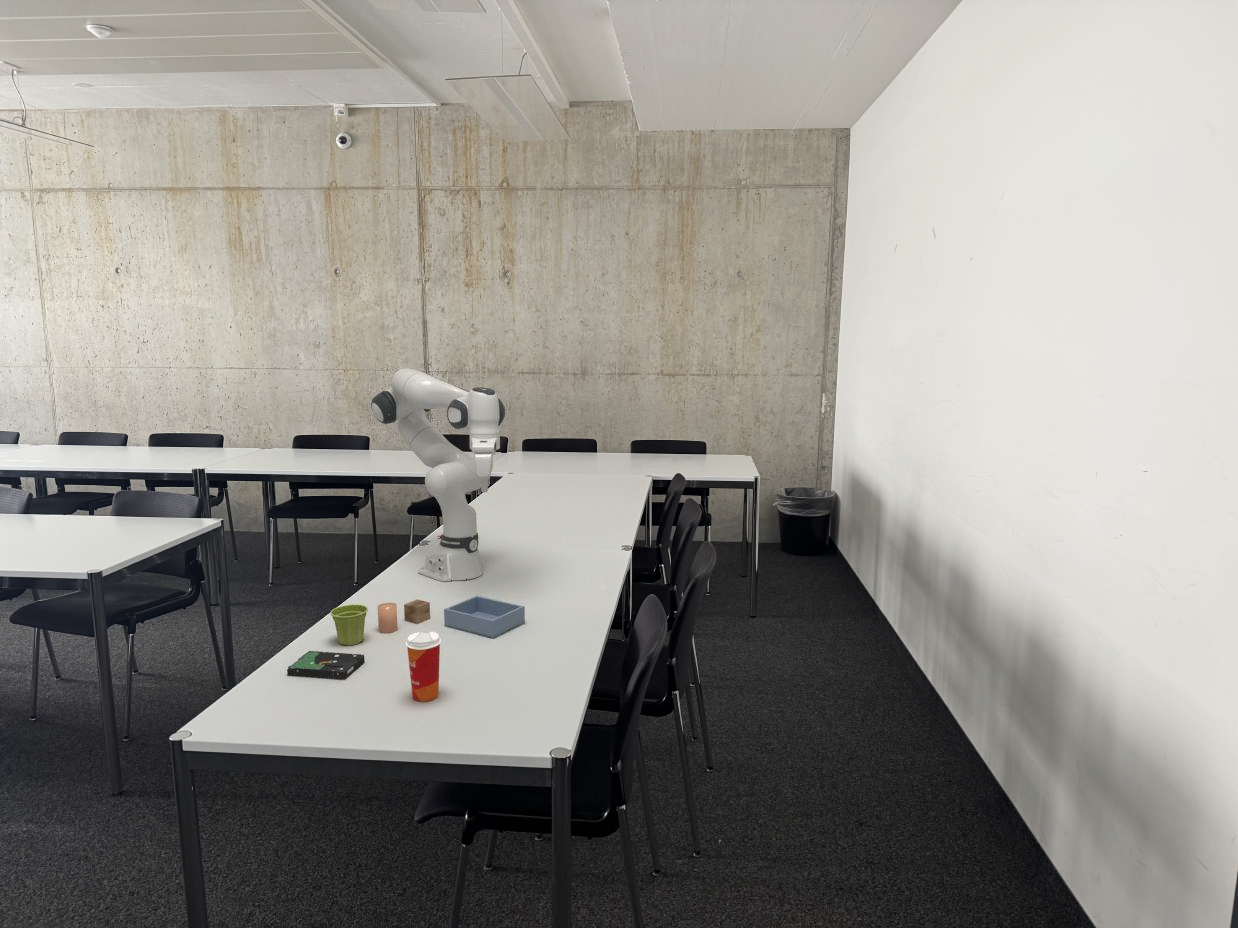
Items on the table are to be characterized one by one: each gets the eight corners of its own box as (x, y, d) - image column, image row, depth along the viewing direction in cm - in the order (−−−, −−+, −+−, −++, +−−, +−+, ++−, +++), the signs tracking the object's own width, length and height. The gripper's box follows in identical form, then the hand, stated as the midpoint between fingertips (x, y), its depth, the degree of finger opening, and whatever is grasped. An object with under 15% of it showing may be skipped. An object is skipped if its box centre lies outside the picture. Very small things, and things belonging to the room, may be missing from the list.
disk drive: (365, 664, 193) (309, 660, 195) (365, 653, 193) (308, 649, 195) (345, 682, 183) (286, 677, 185) (345, 671, 183) (285, 666, 185)
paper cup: (411, 689, 178) (408, 630, 176) (445, 688, 179) (443, 629, 177) (404, 704, 171) (402, 644, 168) (440, 703, 171) (438, 643, 169)
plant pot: (334, 651, 200) (333, 618, 199) (329, 638, 208) (328, 607, 207) (372, 644, 204) (370, 612, 203) (366, 632, 212) (364, 602, 211)
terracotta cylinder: (374, 631, 214) (373, 606, 213) (388, 625, 218) (387, 601, 217) (387, 634, 211) (386, 610, 210) (401, 628, 215) (400, 604, 214)
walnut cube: (404, 621, 222) (404, 604, 221) (417, 615, 226) (417, 599, 225) (417, 624, 219) (416, 607, 218) (430, 619, 223) (429, 602, 223)
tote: (444, 626, 217) (443, 609, 217) (477, 611, 229) (476, 595, 228) (493, 638, 208) (492, 620, 208) (524, 623, 220) (524, 606, 219)
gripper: (476, 438, 240) (477, 482, 242) (471, 447, 220) (472, 495, 222) (497, 438, 241) (497, 482, 243) (493, 447, 221) (494, 495, 223)
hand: (485, 488), depth 233 cm, fingers open, 8 cm apart
